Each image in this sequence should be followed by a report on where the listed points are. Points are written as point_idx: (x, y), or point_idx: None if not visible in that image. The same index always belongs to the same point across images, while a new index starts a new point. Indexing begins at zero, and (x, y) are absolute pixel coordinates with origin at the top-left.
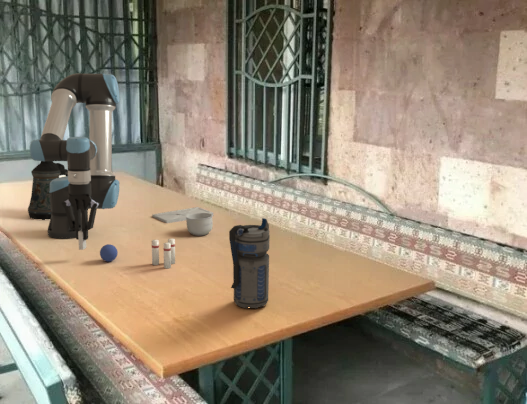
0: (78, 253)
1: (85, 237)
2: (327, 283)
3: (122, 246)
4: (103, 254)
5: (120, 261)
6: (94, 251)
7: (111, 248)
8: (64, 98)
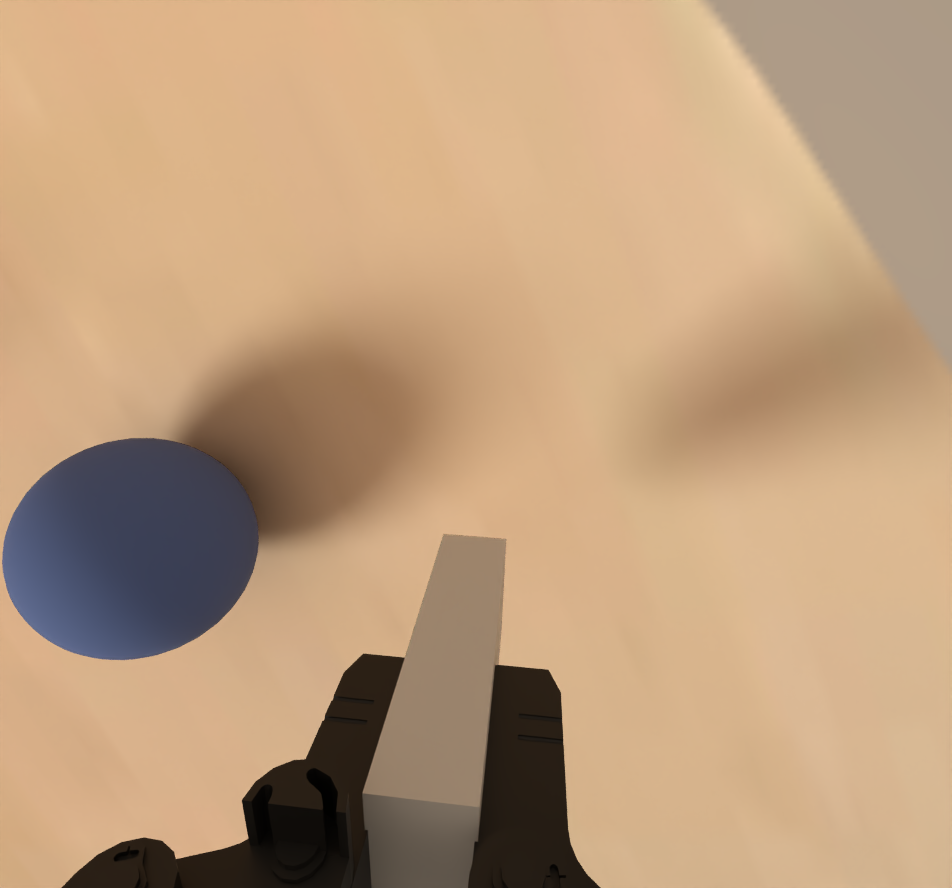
0: (620, 692)
1: (357, 694)
2: None
3: None
4: (141, 452)
5: None
6: None
7: (9, 535)
8: None
